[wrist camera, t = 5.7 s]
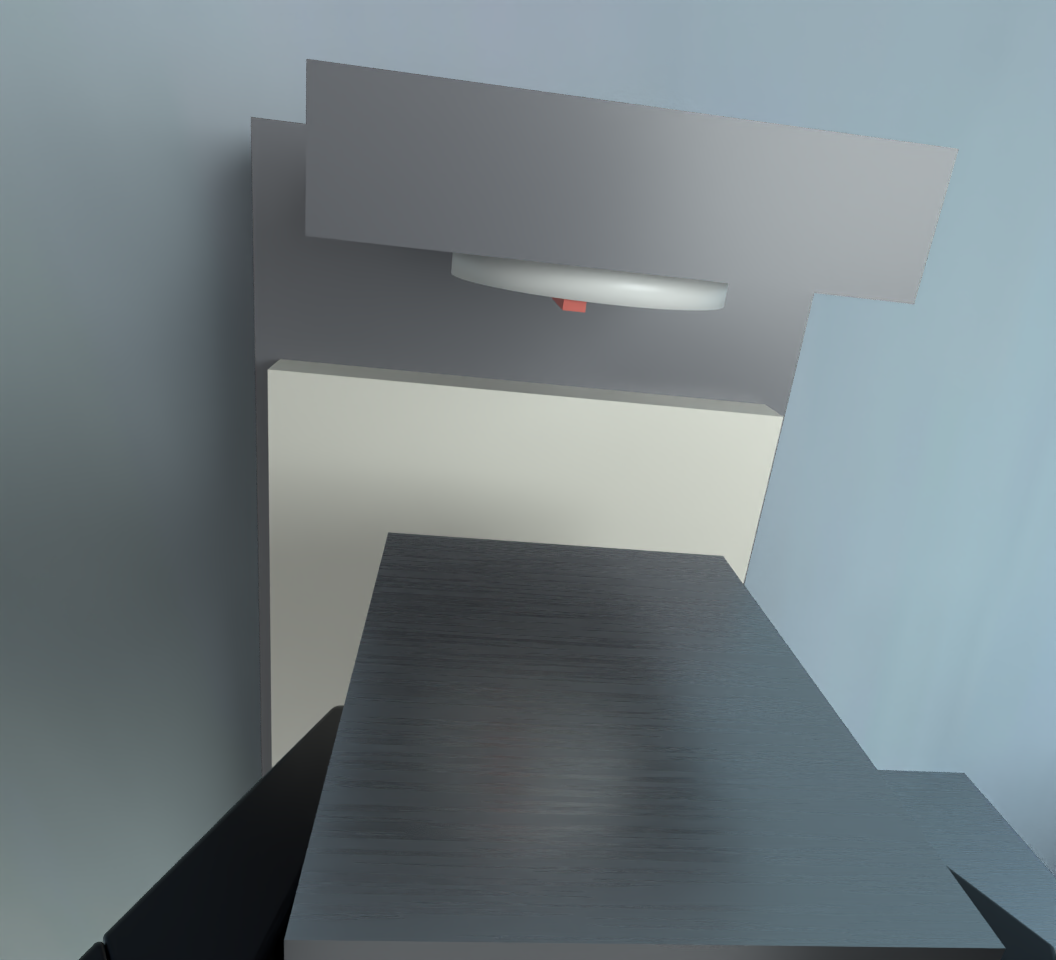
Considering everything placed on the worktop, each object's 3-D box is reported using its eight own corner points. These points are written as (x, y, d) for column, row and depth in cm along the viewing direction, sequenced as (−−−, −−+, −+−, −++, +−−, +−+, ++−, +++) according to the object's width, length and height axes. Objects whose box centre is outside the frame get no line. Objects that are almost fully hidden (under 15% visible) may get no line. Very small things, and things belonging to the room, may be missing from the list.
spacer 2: (962, 771, 20) (1118, 950, 15) (919, 883, 21) (1049, 1078, 16) (821, 767, 19) (935, 949, 14) (786, 881, 20) (880, 1081, 16)
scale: (776, 194, 14) (1185, 180, 6) (632, 867, 20) (743, 1312, 12) (290, 132, 13) (6, 16, 5) (290, 859, 19) (158, 1341, 11)
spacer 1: (723, 556, 9) (1005, 947, 4) (664, 813, 10) (829, 1327, 6) (387, 533, 8) (283, 939, 4) (373, 804, 10) (285, 1354, 5)
